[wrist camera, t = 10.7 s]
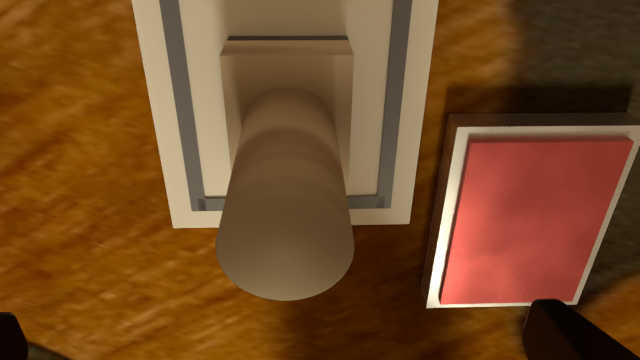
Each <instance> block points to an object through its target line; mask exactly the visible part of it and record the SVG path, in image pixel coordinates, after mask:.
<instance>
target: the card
mask: <svg viewBox="0 0 640 360" xmlns="http://www.w3.org/2000/svg"><path fill="white" fill-rule="evenodd" d="M438 1H439V0H132V5H133V11H134V16H135V22H136V27H137V33H138V38H139V44H140V49H141V55H142V60H143V65H144V71H145V76H146V82H147V87H148V93H149V98H150V104H151V109H152V115H153V120H154V126H155V131H156V136H157V142H158V147H159V153H160V158H161V164H162V169H163V175H164V180H165V186H166V191H167V197H168V202H169V207H170V213H171V218H172V224H173V228H205V227H219V224H220V220H221V216H222V211H223V207H224V203H225V199H226V194H227V190H228V186H229V181H230V177H231V166H230V156H229V146H228V136H227V126H226V116H225V106H224V96H223V86H222V77H221V67H220V57H219V56H220V53H221V51H222V49H223V47H224V45H225V43H226V41H227V39H228V37H229V36H348V39H349V42H350V45H351V48H352V51H353V53H354V69H353V92H352V114H351V136H350V158H349V180H348V196H347V201H348V207H349V213H350V219H351V225H384V224H409V223H410V215H411V207H412V200H413V192H414V184H415V177H416V169H417V162H418V154H419V146H420V139H421V131H422V123H423V116H424V108H425V101H426V93H427V85H428V78H429V70H430V62H431V55H432V47H433V40H434V32H435V24H436V17H437V9H438Z"/></svg>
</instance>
